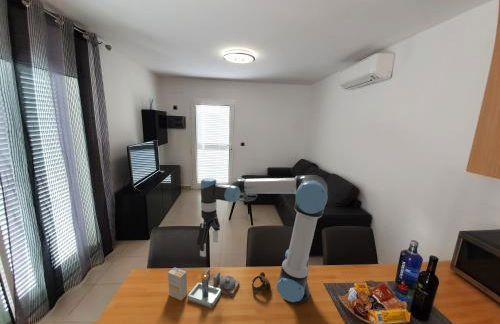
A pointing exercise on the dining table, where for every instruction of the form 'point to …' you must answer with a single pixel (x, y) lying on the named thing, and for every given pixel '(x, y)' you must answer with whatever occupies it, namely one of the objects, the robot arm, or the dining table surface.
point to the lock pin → (205, 284)
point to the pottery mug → (263, 281)
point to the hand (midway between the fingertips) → (209, 248)
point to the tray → (198, 298)
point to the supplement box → (177, 283)
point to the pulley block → (223, 283)
